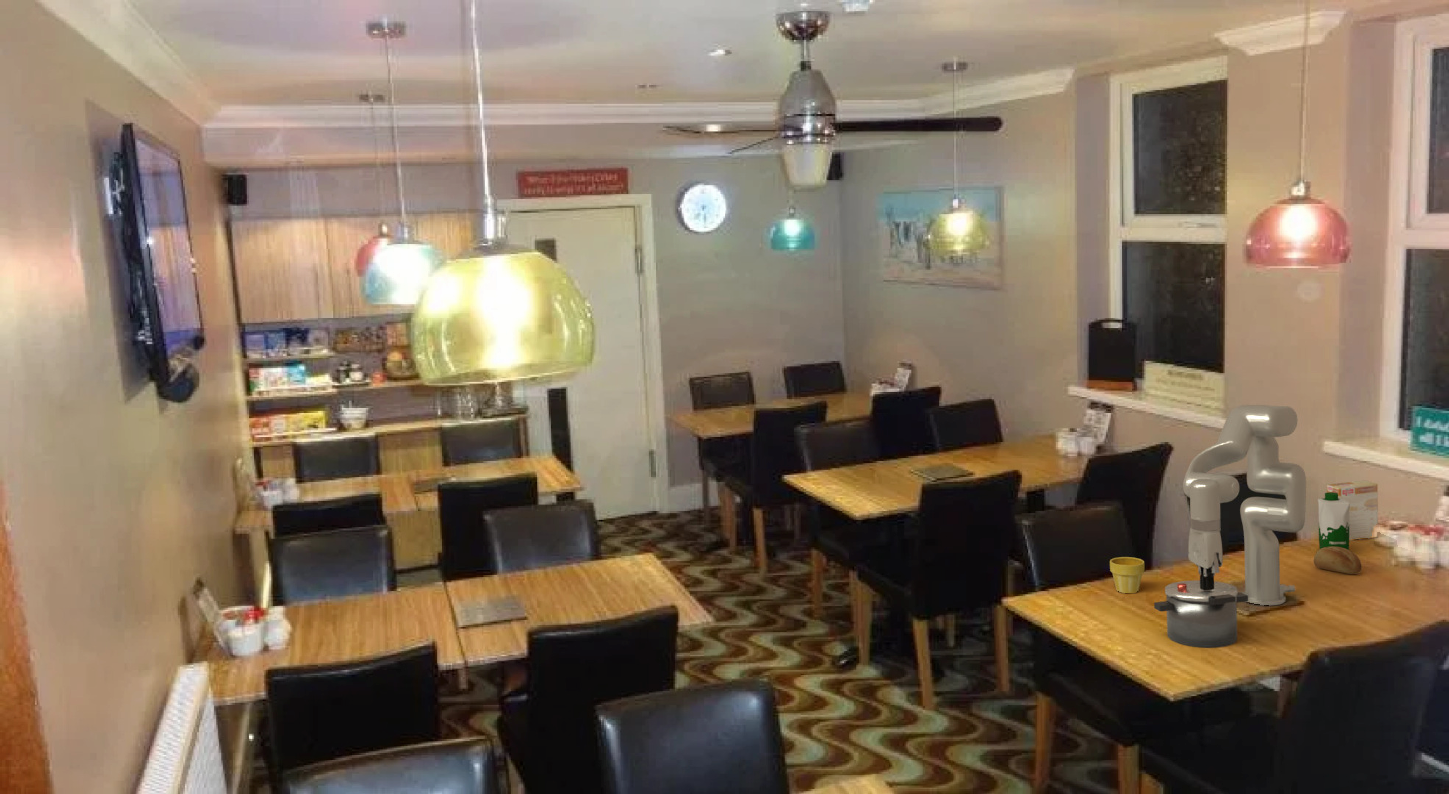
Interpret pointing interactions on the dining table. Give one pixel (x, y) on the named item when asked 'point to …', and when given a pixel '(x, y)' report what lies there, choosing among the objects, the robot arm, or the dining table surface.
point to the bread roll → (1337, 560)
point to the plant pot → (1127, 573)
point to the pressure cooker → (1201, 621)
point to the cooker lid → (1202, 592)
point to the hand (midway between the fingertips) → (1207, 589)
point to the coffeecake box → (1359, 506)
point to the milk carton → (1333, 521)
